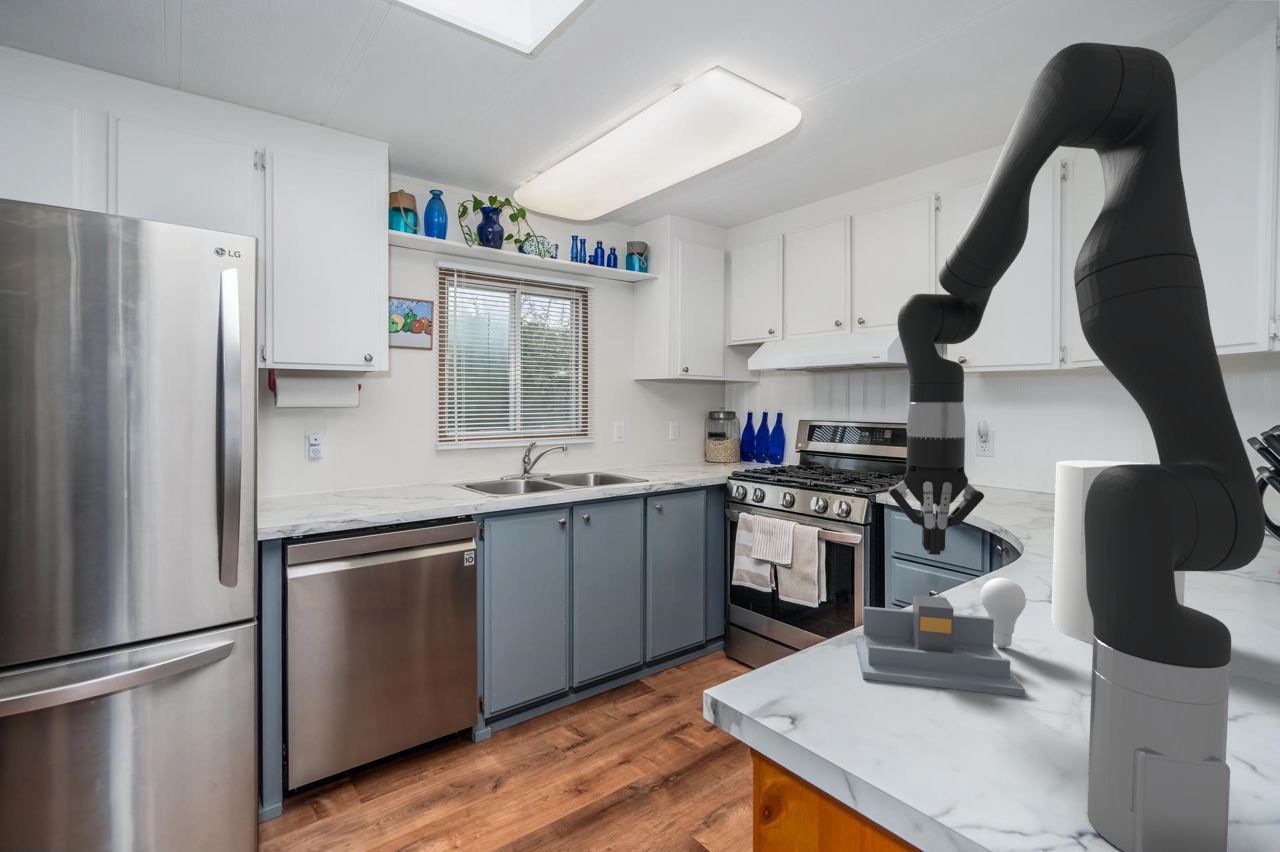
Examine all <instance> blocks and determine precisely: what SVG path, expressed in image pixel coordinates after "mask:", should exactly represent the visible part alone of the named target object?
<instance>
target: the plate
mask: <svg viewBox="0 0 1280 852" xmlns="http://www.w3.org/2000/svg"><path fill="white" fill-rule="evenodd" d="M869 645H872V646H883V647H893V648H903V649H913V650H916V649H915V646H914V644H913V642H912V638H901V637H890V636H880V635H869V634H864V647H865V651H866V655H867V659H868V647H869ZM952 653H954V654H964V655H975V656H985V657H995V658H1003V657H1002V656H1001V654H1000V653H999V651H998V650H997V649H996V648H995V646H994V645H993V646H987V645H976V644H965V643H954V642H953V652H952Z"/></svg>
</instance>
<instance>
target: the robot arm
mask: <svg viewBox="0 0 1280 852" xmlns="http://www.w3.org/2000/svg"><path fill="white" fill-rule="evenodd" d="M1176 88H1177V87H1176V78H1175V74H1174V71H1173V69H1172V65H1171V63H1170V62H1169V60H1168V59H1167V58H1166V57H1165V55H1163V54H1162V53H1161V52H1159V51H1157V50H1155V49H1151V48H1146V47H1141V46H1140V47H1139V46H1127V45H1121V44H1120V45H1119V44H1109V43H1102V42H1101V43H1100V42H1088V41H1087V42H1078V43H1073V44H1069V45H1068V46H1066V47H1064V48H1063V49H1061V50H1059V51H1058V52H1057V53H1056V54H1055V55H1054V56H1052V57H1051V58H1050V59H1049V61H1048V62H1047V63H1046V65H1045V66H1044V67H1043V69H1042V70H1041V72H1040V73H1039V74H1038V76H1037V77H1036V79H1035V80H1034V82H1033V84H1032V86H1031V87H1030V89H1029V92H1028V93H1027V95H1026V97H1025V100H1024V102H1023V104H1022V105H1021V107H1020V110H1019V112H1018V114H1017V116H1016V119H1015V121H1014V124H1013V125H1012V128H1011V130H1010V132H1009V135H1008V137H1007V139H1006V142H1005V144H1004V146H1003V148H1002V150H1001V152H1000V155H999V157H998V160H997V162H996V165H995V166H994V169H993V171H992V174H991V176H990V178H989V180H988V183H987V186H986V187H985V191H984V192H983V195H982V197H981V200H980V201H979V203H978V206H977V207H976V210H975V211H974V213H973V215H972V217H971V218H970V220H969V222H968V224H967V225H966V227H965V229H964V230H963V232H962V234H960V236H959V238H958V240H957V242H956V243H955V245H954V246H953V248H952V249H951V251H950V252H949V254H948V256H947V257H946V258H945V260H944V262H943V263H942V265H941V267H940V269H939V272H938V282H939V284H940V286H941V287H942V289H943V290H944V291H945V292H946V294H945V293H944V294H943V293H941V294H940V293H939V294H938V293H937V294H936V293H915V294H912V295H911V296H909V297H907V298H906V300H904V302H903V303H902V304H901V307H900V309H899V312H898V316H897V330H898V334H899V339H900V342H901V346H902V349H903V353H904V356H905V360H906V365H907V368H908V374H909V404H908V411H907V419H906V421H907V423H906V427H905V429H906V430H905V431H906V469H905V471H904V474H903V475H902V480H901V482H899V483H897V484H896V485H894V486H889V488H888V489H887V492H888V494H889V495H890V496H891V498H892V499H893V500H894V502H895V503H896V504H897V505H898V507H899V508H900V509H901V511H902V512H903V513H904V514H905V515H906V516H907V518H908V519H909V520H910V521H911V522H912V523H913V524H914V525H915V524H916V525H919V526H921V546H922V548H923V549H924V551H926V552H927V554H928V555H933V556H934V555H935V556H940V555H941V552H944V551H945V549H946V530H947V529H948V528H949V527H954V526H955V527H957V526H959V525H960V524H962V522H963V521H964V520H965V519H966V518H967V517H968V516H969V515H970V514H971V513H972V512H973V510H974V509H975V508H976V507H977V506H978V505H979V504H980V503H981V502H982V501H983V499H985V495H984V493H983V492H982V491H980V490H977V489H976V488H974V486H973V485H970V484H969V478H968V477H967V475H966V471H965V465H966V464H965V463H966V461H965V459H966V457H965V456H966V455H965V454H966V449H965V448H966V414H965V403H964V401H965V399H964V397H965V395H964V392H965V390H964V389H965V371H964V367H963V365H962V364H961V363H959V362H957V361H955V360H951V359H950V360H949V359H947V358H943V357H942V356H940V354H939V352H938V349H937V347H936V345H958V344H961V343H963V342H965V341H967V340H968V339H970V338H971V337H973V336H974V335H975V334H976V332H977V331H978V329H979V327H980V325H981V323H982V320H983V316H984V313H985V311H986V308H987V306H988V303H989V301H990V297H991V295H992V292H993V290H994V288H995V286H996V285H997V284H998V283H999V281H1000V280H1001V279H1002V278H1003V276H1004V275H1005V273H1006V272H1007V271H1008V270H1009V268H1010V267H1011V266H1012V264H1013V263H1014V262H1015V260H1016V258H1017V257H1018V255H1019V254H1020V252H1021V250H1022V249H1023V247H1024V244H1025V242H1026V238H1027V235H1028V230H1029V218H1030V198H1031V191H1032V187H1033V186H1034V185H1033V184H1034V183H1035V180H1036V177H1037V175H1038V173H1039V172H1040V170H1041V169H1042V167H1044V165H1045V163H1046V162H1047V161H1048V159H1049V158H1050V157H1051V156H1052V155H1053V154H1054V152H1055V151H1056V150H1057V149H1058V148H1059V147H1063V148H1064V147H1065V148H1076V149H1089V150H1094V151H1095V153H1096V154H1097V155H1098V158H1099V160H1100V164H1101V169H1102V172H1103V173H1102V175H1103V182H1104V200H1103V205H1102V208H1101V210H1100V212H1099V215H1098V217H1096V220H1095V222H1094V224H1093V226H1092V227H1091V229H1090V231H1089V232H1088V235H1087V237H1086V238H1085V240H1084V241H1083V244H1082V246H1081V249H1080V250H1079V253H1078V255H1077V258H1076V261H1075V265H1074V272H1073V273H1074V274H1073V281H1074V290H1075V295H1076V302H1077V303H1076V304H1077V308H1078V316H1079V321H1080V326H1081V330H1082V333H1083V336H1084V338H1085V340H1086V342H1087V344H1088V346H1089V347H1090V348H1091V350H1092V351H1093V353H1094V355H1095V356H1096V357H1097V358H1098V359H1099V360H1100V362H1101V363H1102V364H1103V365H1104V367H1106V369H1107V370H1108V371H1109V372H1110V373H1111V375H1112V376H1113V377H1115V379H1116V380H1117V381H1118V382H1119V384H1121V386H1122V387H1124V388H1125V390H1126V391H1127V392H1128V393H1129V395H1131V397H1132V399H1133V400H1135V402H1136V403H1137V405H1138V406H1139V407H1140V409H1141V411H1142V412H1143V413H1144V416H1145V418H1146V419H1147V421H1148V424H1149V427H1150V429H1151V431H1152V435H1153V438H1154V442H1155V446H1156V450H1157V455H1158V459H1159V464H1158V463H1156V464H1155V463H1151V464H1127V465H1116V466H1112V467H1109V468H1107V469H1105V470H1103V471H1102V472H1101V473H1099V474H1098V475H1097V476H1096V478H1095V479H1094V481H1093V482H1092V484H1091V486H1090V489H1089V491H1088V494H1087V499H1086V504H1085V516H1084V517H1085V552H1086V589H1087V597H1088V601H1089V605H1090V608H1091V611H1092V615H1093V644H1092V659H1091V660H1092V661H1091V662H1092V664H1091V685H1090V713H1089V714H1090V716H1089V718H1090V719H1089V721H1090V722H1089V747H1088V750H1089V751H1088V770H1087V771H1088V784H1087V786H1088V787H1087V813H1086V814H1087V817H1088V820H1089V823H1090V824H1091V826H1092V827H1093V829H1094V830H1095V831H1096V832H1097V833H1098V834H1099V835H1100V836H1101V837H1102V838H1103V839H1105V840H1107V842H1109V843H1110V844H1111V845H1113V846H1114V847H1116V848H1118V849H1120V850H1121V851H1122V852H1227V851H1228V832H1229V813H1230V811H1229V810H1230V809H1229V807H1230V788H1231V787H1230V785H1231V784H1230V783H1231V767H1230V766H1229V765H1228V763H1227V743H1228V721H1229V720H1228V718H1229V717H1228V715H1229V696H1230V677H1231V673H1230V672H1231V659H1232V635H1231V631H1230V630H1229V628H1228V627H1227V625H1225V623H1224V622H1222V621H1220V620H1219V619H1218V618H1216V617H1214V616H1212V615H1210V614H1208V613H1205V612H1202V611H1200V610H1197V609H1194V608H1191V607H1190V606H1186V605H1184V606H1183V605H1180V604H1179V603H1178V601H1177V596H1176V590H1175V578H1174V571H1185V572H1228V571H1229V572H1230V571H1235V570H1238V569H1242V568H1243V567H1245V566H1248V565H1249V564H1250V563H1252V561H1254V560H1255V559H1256V558H1257V556H1258V555H1259V553H1260V551H1261V549H1262V547H1263V544H1264V540H1265V536H1266V517H1265V516H1266V514H1265V509H1264V508H1265V507H1264V504H1263V500H1262V495H1261V493H1260V489H1259V485H1258V482H1257V479H1256V477H1255V473H1254V470H1253V467H1252V465H1251V462H1250V459H1249V456H1248V453H1247V450H1246V448H1245V445H1244V442H1243V439H1242V437H1241V433H1240V431H1239V428H1238V425H1237V422H1236V420H1235V416H1234V413H1233V410H1232V406H1231V403H1230V401H1229V397H1228V393H1227V390H1226V387H1225V382H1224V377H1223V374H1222V369H1221V366H1220V360H1219V357H1218V353H1217V349H1216V345H1215V341H1214V335H1213V331H1212V326H1211V320H1210V314H1209V307H1208V301H1207V300H1208V299H1207V293H1206V287H1205V283H1204V278H1203V273H1202V268H1201V263H1200V260H1199V256H1198V252H1197V247H1196V244H1195V242H1194V237H1193V233H1192V227H1191V222H1190V221H1191V220H1190V216H1189V215H1190V214H1189V209H1188V202H1187V196H1186V190H1185V185H1184V180H1183V174H1182V167H1181V155H1180V153H1181V151H1180V136H1179V135H1180V133H1179V114H1178V98H1177V96H1178V95H1177V89H1176ZM947 293H948V294H947ZM907 489H908V490H909V492H910V493H911V495H913V497H914V499H915V500H916V501H917V502H919V507H920V508H919V510H920V514H917V512H916V511H915V509H914V508H912V506H911V505H910V503H908V501H907V500H906V498H907V496H908V492H907ZM962 492H963V493H962ZM961 493H962V495H961V498H962V501H960V503H959V504H958V505H957V506H956V507H955V508H954V509H953V511H951V512H950V507H951V504H952V503H953V502H955V500H956V499H957V498H958V497H959V496H960V494H961ZM949 513H950V514H949Z"/></svg>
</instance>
